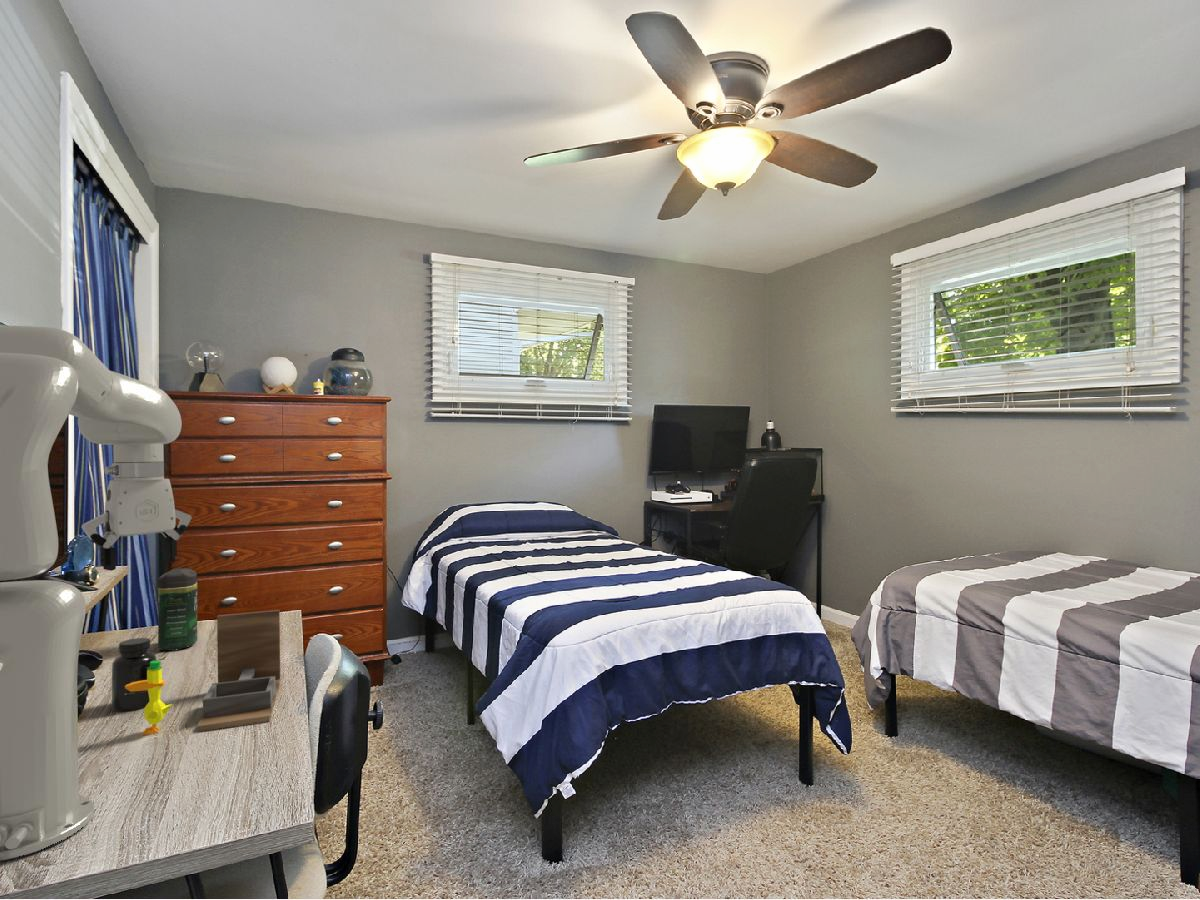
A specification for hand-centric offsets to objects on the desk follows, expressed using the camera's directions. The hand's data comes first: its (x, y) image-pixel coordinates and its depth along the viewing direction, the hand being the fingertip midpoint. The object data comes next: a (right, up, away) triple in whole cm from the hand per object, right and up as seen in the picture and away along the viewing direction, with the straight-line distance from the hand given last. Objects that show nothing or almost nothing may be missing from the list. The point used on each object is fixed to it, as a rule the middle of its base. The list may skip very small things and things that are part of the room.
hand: (140, 565), depth 119 cm
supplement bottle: (-3, -27, +3) cm, 27 cm away
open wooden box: (+17, -27, +2) cm, 32 cm away
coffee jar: (-18, -27, +39) cm, 51 cm away
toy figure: (+8, -27, -9) cm, 29 cm away
